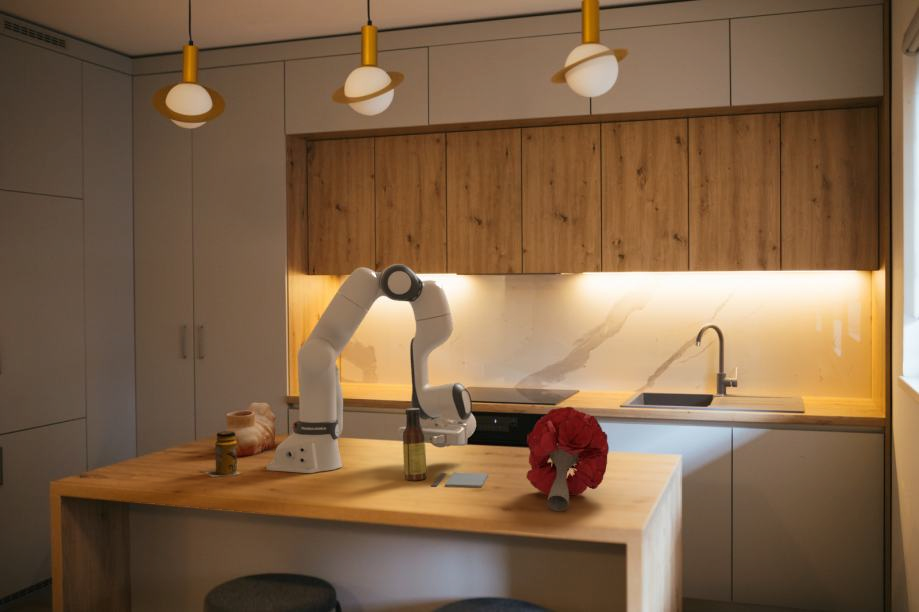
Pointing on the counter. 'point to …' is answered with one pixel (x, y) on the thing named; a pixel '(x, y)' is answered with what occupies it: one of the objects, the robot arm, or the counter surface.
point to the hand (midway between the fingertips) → (417, 439)
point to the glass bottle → (339, 402)
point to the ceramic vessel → (253, 429)
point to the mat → (467, 480)
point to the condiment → (225, 455)
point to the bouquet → (566, 455)
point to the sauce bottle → (414, 447)
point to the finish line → (438, 479)
